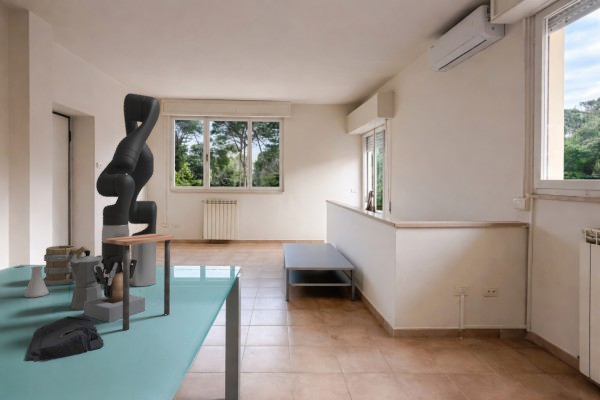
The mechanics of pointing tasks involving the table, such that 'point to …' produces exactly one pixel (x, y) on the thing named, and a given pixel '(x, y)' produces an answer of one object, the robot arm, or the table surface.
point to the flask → (36, 284)
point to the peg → (117, 288)
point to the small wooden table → (126, 268)
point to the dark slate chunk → (64, 339)
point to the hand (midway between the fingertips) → (115, 295)
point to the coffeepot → (85, 280)
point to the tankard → (60, 264)
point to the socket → (112, 308)
